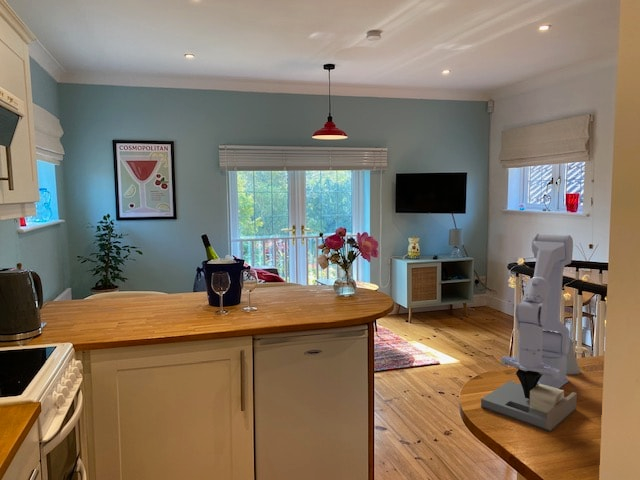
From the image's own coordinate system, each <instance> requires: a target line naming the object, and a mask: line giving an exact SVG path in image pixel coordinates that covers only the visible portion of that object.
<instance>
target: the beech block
mask: <svg viewBox="0 0 640 480" xmlns="http://www.w3.org/2000/svg"><path fill="white" fill-rule="evenodd" d="M564 397H565V390H564V389H560V388H559V389H557V388H554V387H550V386H547V385H543V384H539V385H538V384H537V385H536V387H535V388H533V389H532V390H530V406H532V407H535V408H538V409H541V410H545V411H548V412H549V411H550V410H551V409H552V408H554V407H555V406H556V405H557V404H558V403H560V402H561V401H562V400H563V399H564Z"/></svg>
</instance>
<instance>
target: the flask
mask: <svg viewBox="0 0 640 480" xmlns="http://www.w3.org/2000/svg"><path fill="white" fill-rule="evenodd" d="M574 342H575V340H574V339H573V338H570V346H569V351H568V354H566V355H565V356H566V359H567V370H566V375H580V373H581V369H580V366H579V364H578V363H579V362H578V361H577V358H576V355H575V350H574Z"/></svg>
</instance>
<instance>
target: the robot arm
mask: <svg viewBox="0 0 640 480" xmlns="http://www.w3.org/2000/svg"><path fill="white" fill-rule="evenodd" d="M573 239H574V238H573V237H572V236H571V235H569V234H567V235H561V234H558V235H557V234H539V233H536V234H534V236H533V237H532V242H531V252H532V253H533V257H534V258H535V259H536V260H535V266H534V273H533V277H531V278H529V279H528V280H527V283H526V285H525V289H524V293H523V296H522V299H521V302H518V303H517V304H516V307H515V321H516V330H518V341H517V343H518V345H517V346H518V347H517V357H514V356H507V355H504V356H502V357H501V360H500V361H501V363H500V364H501V365H502V366H510V367H514V368H516V369H517V371H516V373H515V375H516V377H517V378H518V381H519V383H520V384H521V385H522V388H523V391H524V395H525V398H528V399H530V390H532V389H533V388H535V387H536V386H537V385H539V384H543V385H547V386H550V387H554V388H557V389H560V388H562V387H564V385H565V384H567V383H568V382H569V381H571V379H570V378H567V374H566V370H567V359H566V356H565V355H566V354H568V351H569V346H570V339H571V338H570V329H569V328H568V327H567V326H566V325H565V324H564V323H563V322H562V321H560V318H561V317H560V316H561V305H562V303H561V302H562V290H563V278H564V274H563V273H564V269H565V268H566V267H565V266H567V265H571V263H572V260H573V252H574V251H573V250H574V240H573Z"/></svg>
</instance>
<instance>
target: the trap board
mask: <svg viewBox="0 0 640 480" xmlns="http://www.w3.org/2000/svg"><path fill="white" fill-rule="evenodd" d="M577 395H578V394H577V392H574V391H572V392H571V393H569V394H568V395H567V396H564V399H563V400H562V401H561V402H560V403H558V404H557V405H556V406H555V407H554V408H552V409H551V410H550V411H549V412H548V411H545V410H541V409H538V408H535V407H532V406H530V399H528V398H525V395H524V391H523V388H522V385H521V383H520V382H515V381H512V380H509V381H507V382H505V383H504V384H502V385H501V386H499V387H497V388H495V390H493V391H491V392H490V393H488V394H486V395H484V396H483V397H481V399H480V401H481V402H480V408H481V409H484V410H487V411H489V412H492V413H496V414H497V415H501V416H504V417H506V418H510V419H512V420H514V421H517V422H521V423H523V424H525V425H529V426H531V427H535V428H537V429H540V430H543V431H545V432H549V433H551V432H553V431H554V430H555V429H556V428H557V427H558V426H559V425H561V424H562V422H564V421H565V420H566V419H567V418H569V417H570V416H571V415H572V414H573V413H574V412H576V410H577V401H578V400H577V397H578V396H577Z"/></svg>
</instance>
